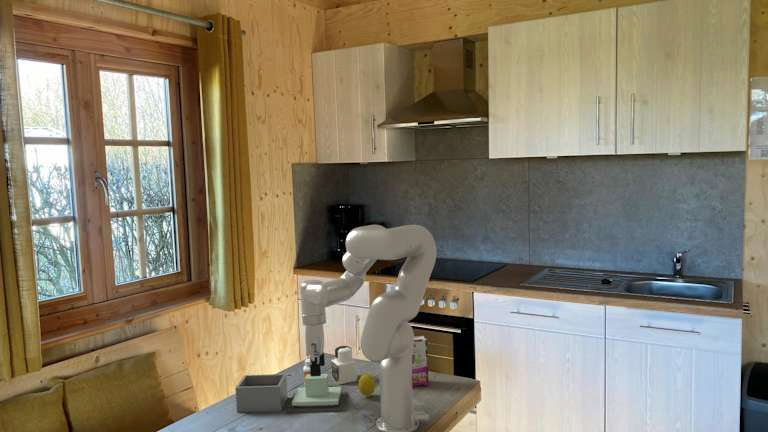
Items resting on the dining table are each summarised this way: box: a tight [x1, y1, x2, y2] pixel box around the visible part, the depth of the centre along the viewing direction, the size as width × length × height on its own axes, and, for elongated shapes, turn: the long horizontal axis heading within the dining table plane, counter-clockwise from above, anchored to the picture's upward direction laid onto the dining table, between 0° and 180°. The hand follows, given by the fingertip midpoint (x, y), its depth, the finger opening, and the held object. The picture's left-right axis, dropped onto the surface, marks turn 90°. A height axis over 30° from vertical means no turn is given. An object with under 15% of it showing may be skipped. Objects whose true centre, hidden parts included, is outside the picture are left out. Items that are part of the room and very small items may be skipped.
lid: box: [292, 373, 343, 407], centre depth 187 cm, size 15×12×8 cm
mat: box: [285, 391, 348, 414], centre depth 188 cm, size 18×14×1 cm
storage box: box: [235, 373, 288, 413], centre depth 188 cm, size 14×11×8 cm
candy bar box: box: [412, 335, 429, 388], centre depth 200 cm, size 11×5×16 cm, turn 97°
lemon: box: [358, 373, 376, 398], centre depth 191 cm, size 6×6×8 cm
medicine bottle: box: [331, 345, 358, 386], centre depth 207 cm, size 7×7×12 cm
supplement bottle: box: [302, 357, 310, 388], centre depth 202 cm, size 5×5×10 cm
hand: (317, 370), depth 186 cm, fingers open, 9 cm apart
